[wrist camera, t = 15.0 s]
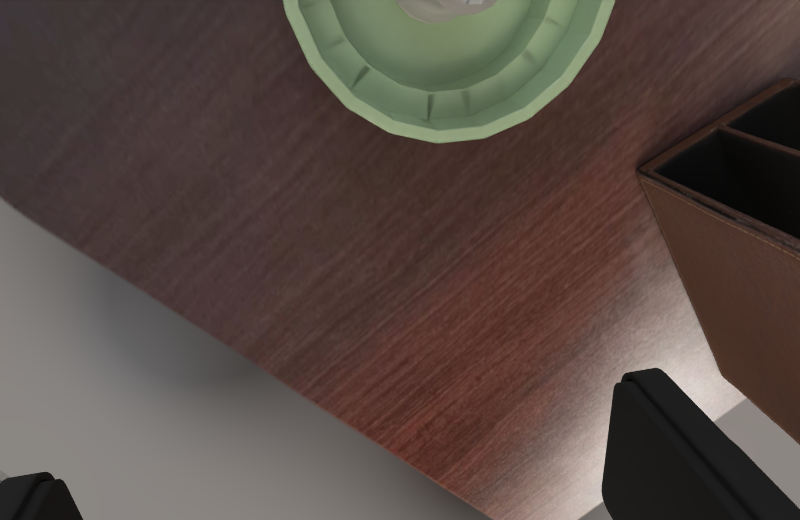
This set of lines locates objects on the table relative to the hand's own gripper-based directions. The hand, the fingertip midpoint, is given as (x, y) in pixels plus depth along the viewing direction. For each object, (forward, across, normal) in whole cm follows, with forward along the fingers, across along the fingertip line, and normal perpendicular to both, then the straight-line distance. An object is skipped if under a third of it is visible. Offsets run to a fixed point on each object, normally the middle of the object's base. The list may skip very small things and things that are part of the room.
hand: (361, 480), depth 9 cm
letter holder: (+23, -27, +10) cm, 37 cm away
